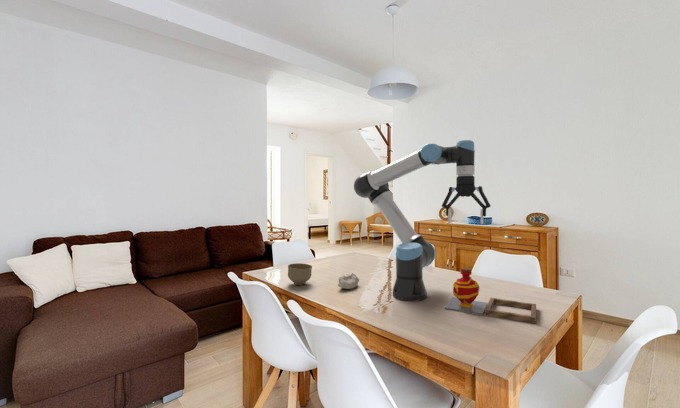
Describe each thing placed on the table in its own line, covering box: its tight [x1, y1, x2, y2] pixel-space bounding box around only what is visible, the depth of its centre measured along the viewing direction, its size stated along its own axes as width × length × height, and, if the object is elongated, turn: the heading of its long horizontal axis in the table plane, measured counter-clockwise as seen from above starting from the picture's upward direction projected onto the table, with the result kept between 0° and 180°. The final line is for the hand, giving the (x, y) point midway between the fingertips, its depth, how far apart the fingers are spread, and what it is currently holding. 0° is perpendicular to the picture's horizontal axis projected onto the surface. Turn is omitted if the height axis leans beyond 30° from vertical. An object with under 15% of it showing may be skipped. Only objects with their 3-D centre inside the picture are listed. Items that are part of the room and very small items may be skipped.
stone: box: [337, 272, 360, 290], centre depth 163 cm, size 8×12×10 cm, turn 148°
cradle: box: [484, 297, 537, 324], centre depth 126 cm, size 16×16×2 cm
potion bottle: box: [452, 267, 480, 307], centre depth 133 cm, size 10×10×15 cm
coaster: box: [444, 297, 488, 316], centre depth 133 cm, size 14×14×1 cm
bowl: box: [287, 262, 313, 286], centre depth 170 cm, size 13×13×10 cm
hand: (465, 223), depth 146 cm, fingers open, 13 cm apart
